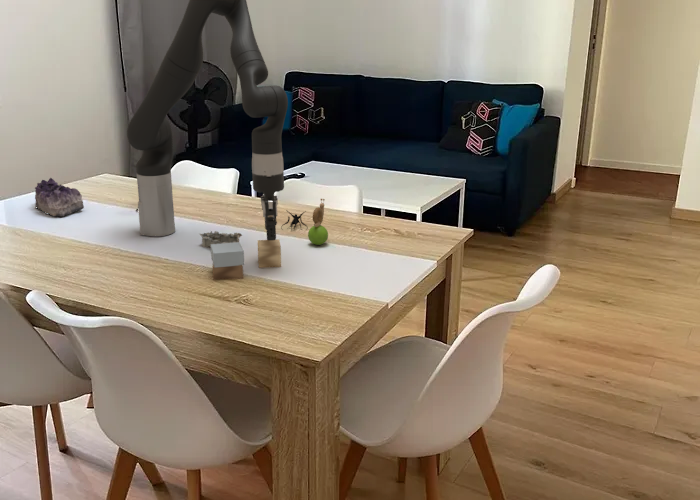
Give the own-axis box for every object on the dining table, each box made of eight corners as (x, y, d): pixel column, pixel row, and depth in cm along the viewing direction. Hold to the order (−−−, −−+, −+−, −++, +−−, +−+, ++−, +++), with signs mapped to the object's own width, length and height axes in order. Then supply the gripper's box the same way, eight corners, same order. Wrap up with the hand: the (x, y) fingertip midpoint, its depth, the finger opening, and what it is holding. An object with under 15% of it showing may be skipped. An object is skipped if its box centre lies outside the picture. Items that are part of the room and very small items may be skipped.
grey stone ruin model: (244, 247, 195) (243, 233, 193) (223, 254, 189) (222, 240, 188) (218, 239, 201) (217, 225, 200) (197, 245, 195) (197, 231, 194)
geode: (21, 208, 228) (20, 177, 226) (56, 206, 237) (55, 175, 235) (52, 218, 215) (52, 185, 213) (88, 216, 224) (88, 183, 222)
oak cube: (258, 268, 179) (258, 247, 178) (258, 260, 184) (257, 240, 183) (281, 267, 180) (280, 246, 178) (279, 259, 185) (279, 239, 183)
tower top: (214, 267, 170) (213, 253, 169) (211, 258, 176) (210, 244, 175) (244, 264, 172) (243, 251, 171) (240, 255, 178) (239, 242, 177)
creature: (306, 236, 208) (310, 222, 214) (305, 220, 205) (309, 206, 212) (279, 235, 208) (284, 221, 215) (278, 219, 206) (283, 206, 212)
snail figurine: (332, 241, 199) (332, 199, 196) (323, 248, 194) (323, 205, 190) (313, 239, 201) (313, 197, 197) (305, 246, 195) (304, 203, 191)
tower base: (213, 280, 172) (212, 267, 170) (213, 270, 178) (213, 257, 177) (243, 279, 173) (242, 265, 171) (242, 269, 179) (242, 255, 178)
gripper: (251, 165, 181) (254, 227, 186) (253, 177, 168) (256, 244, 173) (281, 164, 182) (283, 225, 187) (285, 176, 169) (287, 242, 174)
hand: (270, 234), depth 180 cm, fingers open, 8 cm apart
